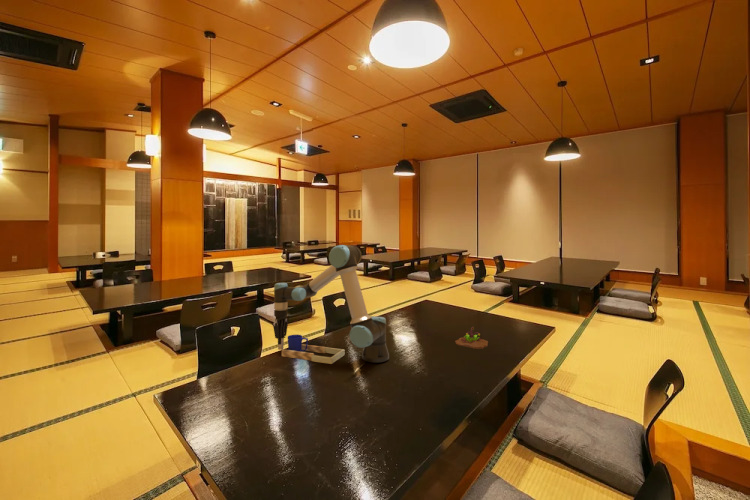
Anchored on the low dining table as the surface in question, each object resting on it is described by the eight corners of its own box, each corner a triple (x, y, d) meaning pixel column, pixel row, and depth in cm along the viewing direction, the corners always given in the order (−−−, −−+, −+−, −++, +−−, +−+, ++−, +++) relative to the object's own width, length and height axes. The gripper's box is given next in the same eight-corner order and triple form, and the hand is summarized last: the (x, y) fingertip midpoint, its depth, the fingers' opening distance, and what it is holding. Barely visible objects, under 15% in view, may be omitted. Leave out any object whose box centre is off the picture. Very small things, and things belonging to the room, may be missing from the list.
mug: (304, 356, 181) (304, 338, 181) (284, 355, 183) (284, 337, 183) (310, 352, 189) (310, 335, 189) (291, 350, 191) (291, 334, 191)
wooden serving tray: (325, 352, 187) (325, 346, 187) (312, 360, 174) (312, 354, 174) (296, 349, 195) (296, 343, 195) (281, 356, 181) (281, 350, 181)
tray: (344, 354, 184) (344, 349, 184) (331, 363, 169) (331, 358, 169) (326, 352, 188) (326, 347, 188) (311, 361, 173) (311, 355, 173)
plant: (491, 344, 208) (491, 326, 208) (483, 352, 191) (483, 333, 191) (461, 339, 219) (461, 322, 219) (451, 346, 202) (451, 328, 202)
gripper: (282, 307, 198) (282, 345, 198) (268, 310, 185) (268, 351, 185) (292, 307, 195) (292, 346, 195) (279, 311, 183) (279, 353, 183)
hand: (280, 349), depth 190 cm, fingers closed
